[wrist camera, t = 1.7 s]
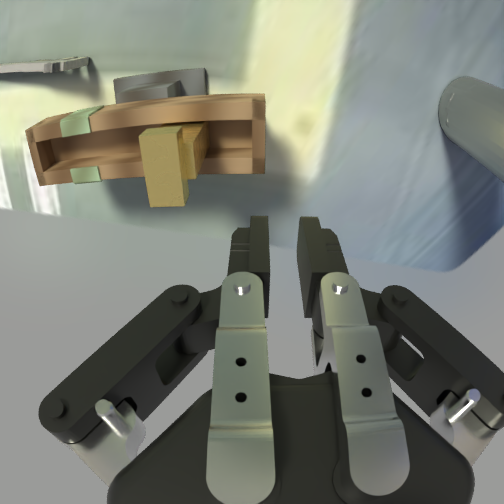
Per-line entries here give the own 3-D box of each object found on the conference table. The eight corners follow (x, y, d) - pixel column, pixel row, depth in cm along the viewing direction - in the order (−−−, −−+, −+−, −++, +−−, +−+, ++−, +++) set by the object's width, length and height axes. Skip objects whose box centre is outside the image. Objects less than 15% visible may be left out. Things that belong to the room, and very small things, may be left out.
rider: (207, 103, 24) (186, 132, 18) (210, 158, 27) (193, 206, 21) (165, 106, 24) (129, 137, 18) (171, 159, 28) (142, 207, 21)
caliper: (91, 55, 27) (62, 62, 22) (90, 64, 28) (62, 72, 23) (-23, 67, 25) (-53, 78, 20) (-23, 74, 26) (-53, 86, 21)
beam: (263, 66, 29) (265, 77, 21) (263, 153, 35) (264, 196, 27) (71, 88, 29) (19, 111, 21) (85, 163, 35) (44, 204, 27)
